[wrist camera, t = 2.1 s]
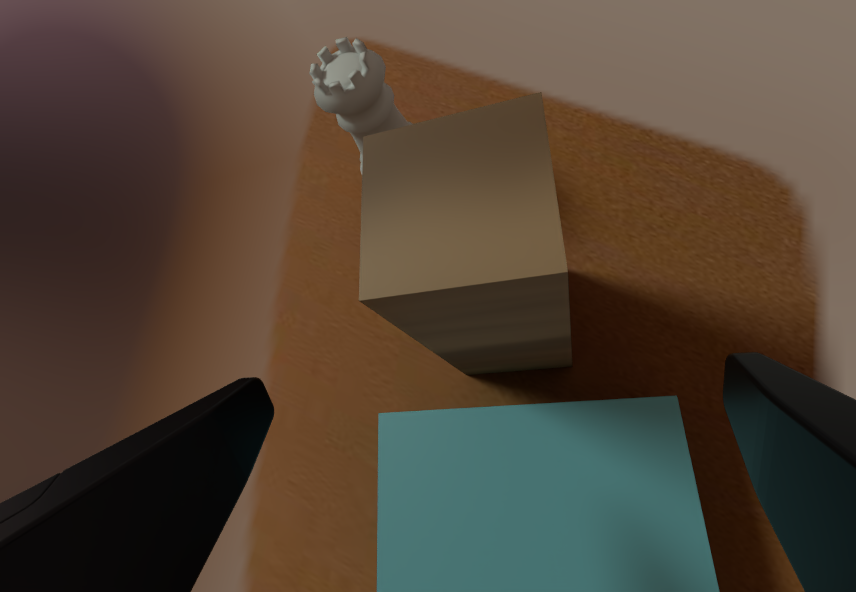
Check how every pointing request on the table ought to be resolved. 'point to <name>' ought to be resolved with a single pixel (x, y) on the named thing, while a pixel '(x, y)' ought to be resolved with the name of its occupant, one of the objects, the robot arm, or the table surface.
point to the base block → (540, 500)
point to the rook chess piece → (356, 91)
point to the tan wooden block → (468, 238)
